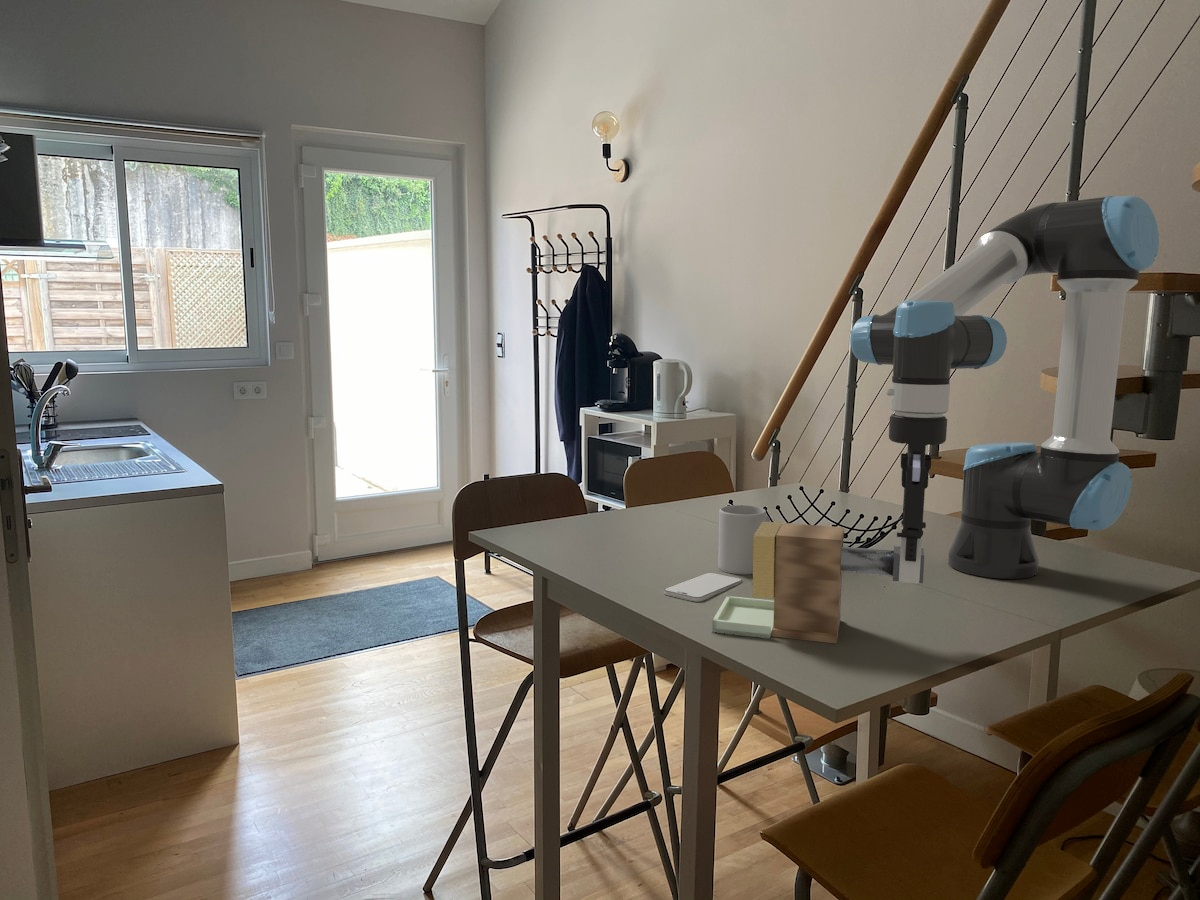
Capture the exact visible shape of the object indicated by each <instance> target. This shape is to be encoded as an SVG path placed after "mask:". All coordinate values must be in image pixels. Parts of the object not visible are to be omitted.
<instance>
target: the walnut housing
mask: <svg viewBox="0 0 1200 900" xmlns="http://www.w3.org/2000/svg"><path fill="white" fill-rule="evenodd" d="M781 523H782V525H781V527H780V529H779V531H778V533H777V535H776V557H775V589H774V599H773V600H774V622H773V630H772V635H771V637H772V638H773V637H774V638H782V639H783V638H784V639H793V640H800V641H801V640H802V641H809V642H810V641H811V642H819V643H829V644H837V642H838V636H839V630H840V624H841V607H842V605H841V604H842V586H843V585H842V581H843V572H841V571H840V568H841V547H844V537H845V527H843V526H831V525H817V524H816V525H815V524H804V523H791V522H790V523H789V522H781Z"/></svg>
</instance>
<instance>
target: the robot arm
mask: <svg viewBox="0 0 1200 900" xmlns="http://www.w3.org/2000/svg"><path fill="white" fill-rule="evenodd" d="M1159 236H1160V235H1159V227H1158V222H1157V219H1156V217H1155V214H1154V212H1153V210H1152V207H1151V206H1150V205H1149V204H1148V203H1147V201H1145V200H1144V199H1143V198H1141V197H1139V196H1136V195H1135V196H1134V195H1116V196H1114V195H1107V196H1103V197H1093V198H1088V199H1079V200H1070V201H1062V202H1061V201H1060V202H1059V201H1058V202H1049V203H1043V204H1040V205H1036V206H1034V207H1031V208H1028V209H1027V210H1024V211H1022V212H1020V213H1018V214H1016V215H1014V216H1012V217H1010V218H1008V219H1006V220H1005V221H1003V222H1001V223H999V224H998V225H996V226H995V227H993V228H992V229H990V230H989V231H987V232H986V233H985V234H984V235H982V236H981V237H980V238H978V240H977V241H976V242H975V245H974V247H973V250H971V251H970V252H969V253H967V254H966V255H965V256H963V257H962V258H961V259H959V260H958V261H957V262H955V263H954V264H952V265H951V266H950V267H948V268H947V269H946V270H944V271H943V272H942V273H940V274H939V275H937V277H935V278H933V279H932V280H931V281H929V282H928V283H927V284H925V285H923V286H922V288H920V289H918V290H917V291H915V292H914V293H913V294H911V295H910V296H909V297H907V298H906V299H905V300H903V301H902V302H900V303H899V304H898V305H897V306H895V307H894V308H892V309H891V310H890V311H889V310H888V312H886V313H884V314H881V315H879V314H872V315H866V316H862V317H860V318H859V319H858V320H857V321H856V322H855V323H854V325H853V327H852V328H851V330H850V337H849V338H850V340H849V343H850V346H851V347H850V348H851V352H852V353H853V355H854V357H855V358H856V359H857V360H859V361H860V362H863V363H866V364H867V363H868V364H874V365H875V364H876V365H878V366H882V365H886V366H887V365H890V366H892V365H893V366H892V376H891V377H892V378H891V386H892V388H888V389H887V390H886V395H887V396H890V397H891V396H892V397H891V398H890V409H891V411H893V412H894V413H893V414H891V415H890V416H889V425H888V427H889V428H888V439H889V440H890V441H891V442H894V443H897V444H905V445H906V444H907V451H906V453H905V452H904V453H900V468H901V480H900V481H901V486H902V488H903V504H902V512H901V519H902V520H901V528H900V532H896V538H900V541H899V542H900V543H899V547H901V549H900V566H899V581H898V583H905V584H917V585H918V584H919V585H920V583H919V579H920V562H921V548H922V543H923V542H922V541H923V535H924V530H923V529H926V527H927V524H926V522H925V521H924V510H925V509H924V508H925V507H924V505H925V495H926V494H925V493H926V492H925V491H926V489H927V488H928V487H929V473H930V470H931V469H932V457H931V454H926V449H927V448H926V447H927V446H928V445H929V446H930V445H931V446H939V445H943V444H944V443H945V442H946V441H947V431H948V418H947V417H946V416H945V415H944V414H946V413H948V411H949V407H950V406H949V405H950V391H951V389H950V388H951V383H950V382H951V381H950V380H951V379H950V376H951V370H956V369H957V370H960V369H964V370H965V369H973V370H979V369H980V368H986V367H990V366H992V365H994V364H996V363H997V362H998V361H999V360H1000V359H1001V358H1002V356H1003V355H1004V354H1005V351H1006V348H1007V344H1008V340H1007V339H1008V338H1007V332H1006V330H1005V328H1004V326H1003V325H1002V323H1001V322H1000V321H998V320H997V319H996V318H993V317H990V316H985V315H983V314H974V315H973V314H972V315H966V314H967V313H968V312H969V311H970V310H971V309H973V308H974V307H976V305H977V304H978V305H979V304H980V303H981V302H982V301H983V300H984V299H986V298H987V297H988V296H989V295H991V294H992V293H993V292H995V291H996V290H997V289H998V288H999V287H1002V285H1011V284H1014V283H1015V282H1017V281H1018V280H1020V279H1021V278H1023V277H1026V276H1029V275H1030V276H1031V275H1037V274H1049V273H1051V274H1057V281H1056V283H1057V284H1058V286H1060V287H1061V289H1063V290H1064V292H1065V303H1064V313H1063V322H1062V331H1061V332H1062V333H1061V343H1060V353H1059V363H1058V372H1057V385H1056V391H1055V392H1056V393H1055V400H1054V402H1055V404H1054V413H1053V423H1052V431H1051V432H1052V433H1051V436H1050V437H1049V438H1048V439H1047V440H1045V441H1044V442H1043V443H1041V446H1040V452H1038V448H1037V444H1035V443H1034V442H1024V441H1023V442H1020V441H1019V442H997V443H996V442H995V443H984V444H983V443H982V444H978V445H973V446H971V447H970V448H968V449H967V451H966V453H965V459H964V465H963V468H962V471H963V476H962V477H963V478H962V479H963V481H962V496H961V497H962V499H961V515H960V524H959V527H958V528H957V531H956V534H955V536H954V539H953V542H952V543H951V545H950V549H949V551H948V559H947V560H948V565H949V566H950V567H951V568H953V569H955V570H957V571H959V572H962V573H964V574H969V575H974V576H976V577H977V576H978V577H984V578H991V579H992V578H993V579H1002V580H1004V579H1006V580H1008V579H1010V580H1012V579H1015V580H1016V579H1018V580H1019V579H1027V578H1028V579H1029V578H1031V577H1034V575H1035V576H1037V575H1038V573H1039V557H1038V553H1037V549H1036V546H1035V543H1034V538H1033V535H1032V531H1031V527H1032V526H1031V524H1032V523H1031V521H1032V520H1034V521H1038V522H1039V521H1040V522H1044V523H1051V524H1056V525H1061V526H1065V527H1071V528H1072V529H1075V530H1080V529H1082V530H1087V531H1094V532H1095V531H1097V532H1098V531H1103V530H1106V529H1108V528H1109V527H1111V526H1112V525H1113V524H1115V523H1116V522H1117V521H1118V520H1119V518H1120V516H1121V515H1122V514H1123V512H1124V510H1125V509H1126V506H1127V504H1128V501H1129V499H1130V495H1131V491H1132V485H1133V477H1132V476H1131V474H1132V471H1131V468H1129V466H1128V465H1126V464H1124V463H1123V462H1119V459H1120V450H1119V448H1118V447H1117V446H1116V445H1115V443H1113V442H1112V439H1111V435H1112V434H1111V433H1112V424H1113V416H1114V407H1115V396H1116V389H1117V388H1116V387H1117V380H1118V371H1119V370H1118V368H1119V362H1120V361H1119V360H1120V349H1121V341H1122V332H1123V323H1124V313H1125V305H1126V296H1127V293H1128V292H1129V291H1130V290H1131V289H1133V287H1135V286H1136V285H1137V284H1138V283H1139V277H1140V271H1145V270H1147V269H1150V267H1152V265H1154V263H1155V260H1156V259H1155V258H1157V255H1158V252H1159V251H1158V250H1159V241H1160V240H1159Z"/></svg>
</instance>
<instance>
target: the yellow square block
mask: <svg viewBox="0 0 1200 900" xmlns="http://www.w3.org/2000/svg"><path fill="white" fill-rule="evenodd" d="M782 523H783V522H778V521H777V522H775V521H770V522H762V523H761V524H760V526H759V528H758V529H757V531H756V532H755V534H754V536H753V574H752V598H754V599H766V600H774V589H775V557H776V535H777V533H778V531H779V529H780V527H781V525H782Z"/></svg>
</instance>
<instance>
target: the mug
mask: <svg viewBox="0 0 1200 900" xmlns="http://www.w3.org/2000/svg"><path fill="white" fill-rule="evenodd" d="M718 513H719V516H718V550H717V551H718V555H717V567H718V569H719V570H720V571H722V572H725V573H727V574H731V575H732V574H733V575H744V576H745V575H748V576H749V575H753V536H754V534H755V532H756V531H757V529H758V528H759V526H760V524H761V523H762V522H771V519H770V516H768V514H767V511H766V509H765V508H763V507H759V506H755V505H746V504H745V505H744V504H731V505H726V506H722V507H721V508H720V509H719V511H718Z"/></svg>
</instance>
